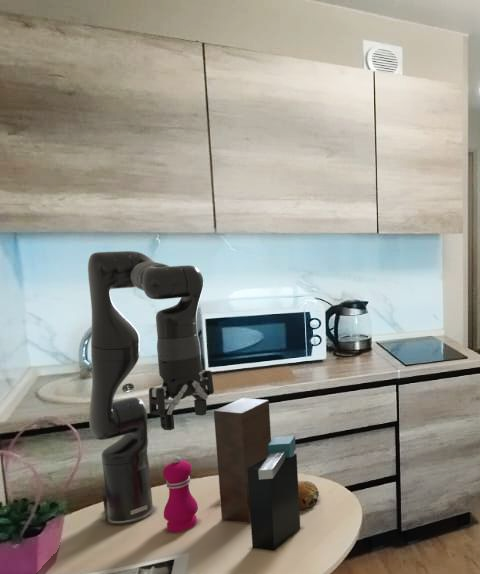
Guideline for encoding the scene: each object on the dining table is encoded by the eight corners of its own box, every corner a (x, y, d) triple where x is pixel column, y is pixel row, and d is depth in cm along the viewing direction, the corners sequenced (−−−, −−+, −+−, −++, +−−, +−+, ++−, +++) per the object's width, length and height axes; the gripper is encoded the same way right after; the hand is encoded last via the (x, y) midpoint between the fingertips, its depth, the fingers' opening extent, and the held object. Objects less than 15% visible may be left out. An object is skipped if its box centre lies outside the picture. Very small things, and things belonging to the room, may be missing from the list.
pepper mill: (180, 535, 151) (174, 464, 148) (157, 531, 152) (151, 460, 149) (205, 520, 158) (200, 452, 155) (184, 516, 159) (178, 449, 156)
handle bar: (254, 480, 139) (253, 464, 138) (274, 450, 154) (273, 436, 153) (277, 478, 140) (276, 462, 139) (295, 449, 155) (295, 435, 154)
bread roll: (313, 503, 175) (306, 477, 176) (327, 500, 169) (320, 474, 170) (277, 516, 167) (271, 490, 168) (291, 514, 161) (284, 486, 162)
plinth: (221, 520, 158) (213, 410, 153) (249, 501, 168) (242, 397, 163) (248, 523, 158) (241, 413, 152) (274, 503, 168) (268, 400, 162)
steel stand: (252, 548, 147) (247, 468, 144) (279, 526, 157) (275, 451, 153) (274, 550, 147) (269, 471, 143) (300, 528, 157) (296, 453, 153)
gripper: (191, 344, 136) (196, 409, 139) (133, 361, 122) (140, 433, 125) (220, 347, 136) (225, 411, 138) (166, 364, 122) (172, 436, 124)
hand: (185, 422), depth 132 cm, fingers open, 8 cm apart
